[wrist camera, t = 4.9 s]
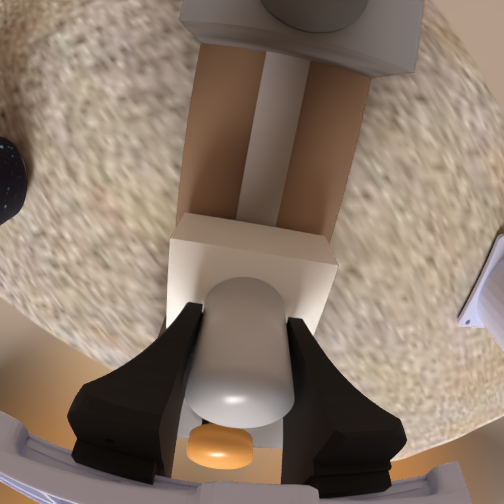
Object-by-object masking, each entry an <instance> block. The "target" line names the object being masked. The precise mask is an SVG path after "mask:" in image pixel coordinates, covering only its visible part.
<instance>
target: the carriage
mask: <svg viewBox="0 0 504 504" xmlns="http://www.w3.org/2000/svg"><path fill="white" fill-rule="evenodd" d="M338 266H339V265H338V263H337V261H336V258H335V256H334V254H333V252H332V250H331V248H330V245H329V243H328V241H327V239H326V237H325V236H322V235H316V234H311V233H305V232H300V231H294V230H288V229H283V228H277V227H271V226H265V225H259V224H253V223H247V222H241V221H235V220H229V219H223V218H217V217H211V216H204V215H198V214H192V213H184V215H183V217H182V218H181V220H180V222H179V224H178V225H177V227H176V229H175V230H174V232H173V234H172V236H171V237H170V248H169V265H168V286H167V319H166V329H167V328H168V327H169V326H170V324H171V323H172V322H173V321H174V320H175V319H176V317H177V316H178V315H179V313H180V312H181V311H182V309H183V308H184V306H185V305H186V303H188V302H193V303H199V304H203V310H202V316H201V321H200V325H199V330H198V334H197V339H196V343H195V348H194V353H193V357H192V362H191V367H190V372H189V377H188V382H187V386H186V392H185V397H186V401H187V403H188V405H189V406H190V408H191V409H192V410H193V411H194V412H195V413H196V414H197V415H199V416H200V417H202V418H203V419H205V420H207V421H209V422H212V423H214V424H218V425H221V426H226V427H232V428H254V427H260V426H264V425H268V424H271V423H273V422H275V421H277V420H279V419H281V418H282V417H284V416H285V415H286V414H287V413H288V412H289V411H290V410H291V408H292V406H293V404H294V399H295V397H294V388H293V378H292V369H291V360H290V351H289V342H288V334H287V325H286V323H287V320H288V317H294V318H302V319H303V321H304V322H305V324H306V325H307V327H308V329H309V330H310V332H311V333H312V335H314V333H315V330H316V327H317V325H318V322H319V319H320V317H321V314H322V311H323V309H324V306H325V303H326V301H327V298H328V295H329V292H330V289H331V287H332V284H333V281H334V278H335V275H336V272H337V269H338Z"/></svg>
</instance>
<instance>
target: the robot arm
mask: <svg viewBox="0 0 504 504" xmlns="http://www.w3.org/2000/svg"><path fill="white" fill-rule="evenodd" d="M202 310H203V304H199V303H193V302H188V303H186V305H185V306H184V308H183V309H182V311H181V312H180V313H179V315H178V316H177V317H176V319H175V320H174V321H173V322H172V323H171V324H170V326H169V327H168V328H167V329H166V330H165V331H164V332H163V333H162V334H161V335H160V336H159V337H158V338H157V339H156V340H155V341H154V342H153V343H152V344H151V345H150V346H149V347H147V348H146V349H145V350H144V351H143V352H141V353H140V354H139V355H137V356H136V357H135V358H133V359H132V360H130V361H129V362H128V363H126V364H124V365H123V366H121V367H119V368H118V369H116V370H114V371H112V372H111V373H109V374H107V375H105V376H103V377H101V378H98V379H96V380H94V381H91V382H89V383H86V384H84V385H83V386H82V388H81V389H80V391H79V392H78V394H77V395H76V397H75V399H74V401H73V403H72V405H71V407H70V409H69V412H68V415H67V418H68V421H69V423H70V425H71V427H72V429H73V431H74V433H75V435H76V437H77V440H76V443H75V446H74V448H73V451H71V450H69V449H66V448H63V447H61V446H58V445H56V444H53V443H51V442H49V441H46V440H44V439H42V438H39V437H37V436H35V435H33V434H30V433H29V432H28V430H27V428H26V427H25V425H24V424H23V423H21V422H20V421H18V420H17V419H15V418H13V417H11V416H9V415H7V414H5V413H4V412H2V411H0V481H1V482H2V483H4V484H6V485H8V486H9V487H11V488H13V489H15V490H16V491H18V492H20V493H22V494H24V495H26V496H28V497H29V498H31V499H33V500H35V501H37V502H39V503H41V504H471V503H472V502H471V498H470V495H469V492H468V489H467V486H466V483H465V480H464V477H463V474H462V472H461V469H460V466H459V463H458V461H453V462H449V463H446V464H442V465H439V466H437V467H434V468H433V469H431V470H430V471H429V472H428V473H427V474H426V475H422V476H418V477H413V478H408V479H402V480H397V481H391V479H390V475H389V471H388V470H390V469H391V463H390V460H391V459H392V458H393V457H394V456H395V455H396V454H397V453H398V452H399V451H400V450H401V449H402V448H403V447H404V446H405V444H406V441H407V438H406V434H405V431H404V428H403V425H402V423H401V420H400V419H399V418H397V417H395V416H394V415H392V414H390V413H389V412H387V411H385V410H383V409H382V408H380V407H379V406H378V405H376V404H375V403H373V402H372V401H371V400H369V399H368V398H367V397H365V396H364V395H363V394H362V393H361V392H360V391H358V390H357V389H356V388H355V387H354V386H353V385H352V384H351V383H350V382H349V381H348V380H347V379H346V378H345V377H344V376H343V375H342V374H341V373H340V372H339V371H338V370H337V368H336V367H335V366H334V365H333V363H332V362H331V361H330V360H329V358H328V357H327V356H326V354H325V353H324V351H323V350H322V349H321V347H320V346H319V344H318V343H317V341H316V340H315V338H314V337H313V335H312V333H311V332H310V330H309V329H308V327H307V325H306V324H305V322H304V321H303V319H302V318H294V317H288V320H287V323H286V325H287V334H288V342H289V351H290V360H291V369H292V378H293V388H294V397H295V399H294V404H293V406H292V408H291V410H290V411H289V412H288V413H287V414H286V415H285V416H284V417H283V454H282V474H281V484H257V483H256V484H255V483H242V482H231V481H213V482H206V483H196V482H189V481H183V480H178V479H172V478H171V473H172V467H173V460H174V453H175V446H176V440H177V433H178V427H179V421H180V415H181V410H182V405H183V401H184V397H185V392H186V386H187V382H188V377H189V372H190V367H191V362H192V357H193V353H194V348H195V343H196V339H197V334H198V330H199V325H200V321H201V316H202ZM457 323H458V325H459V326H461V327H480V328H487V330H488V331H489V332H490V334H491V335H492V336H493V338H494V339H495V341H496V342H497V343H498V345H499V346H500V348H501V349H502V350H503V352H504V234H500V235H498V237H497V238H496V241H495V243H494V246H493V248H492V250H491V253H490V255H489V257H488V260H487V262H486V264H485V266H484V268H483V271H482V273H481V275H480V277H479V279H478V281H477V283H476V285H475V287H474V289H473V291H472V293H471V295H470V297H469V299H468V301H467V303H466V305H465V307H464V309H463V310H462V312H461V314H460V316H459V318H458V320H457Z"/></svg>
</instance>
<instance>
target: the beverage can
mask: <svg viewBox="0 0 504 504" xmlns="http://www.w3.org/2000/svg"><path fill="white" fill-rule="evenodd" d="M26 192H27V172H26V167H25V163H24V161H23V158H22V157H21V155H20V153H19V151H18V150H17V148H16V147H15V146H14V145H13V144H12V143H11V142H10V141H9V140H8V139H6V138H4V137H0V225H2V224H3V223H5V222H6V221H7V220H9V219H10V218H12V217H13V216H15V215H16V214H17V213H18V212H19V211H20V210H21V208H22V206H23V204H24V201H25V197H26Z"/></svg>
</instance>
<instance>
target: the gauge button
mask: <svg viewBox="0 0 504 504" xmlns="http://www.w3.org/2000/svg"><path fill="white" fill-rule="evenodd" d="M187 455H188V457H189V458H190V459H191V460H192V461H194V462H196V463H198V464H200V465H203V466H206V467H210V468H217V469H235V468H240V467H244V466H246V465H248V464H250V463H251V461H252V460H253V437H252V436H251V435H250V433H248V432H247V431H245V430H243V429H241V428H232V427H226V426H221V425H218V424H214V423H212V422H209V424H205V425H200V426H197V427H195V428H194V429H192V430H191V431H190V434H189V440H188V446H187Z"/></svg>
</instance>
